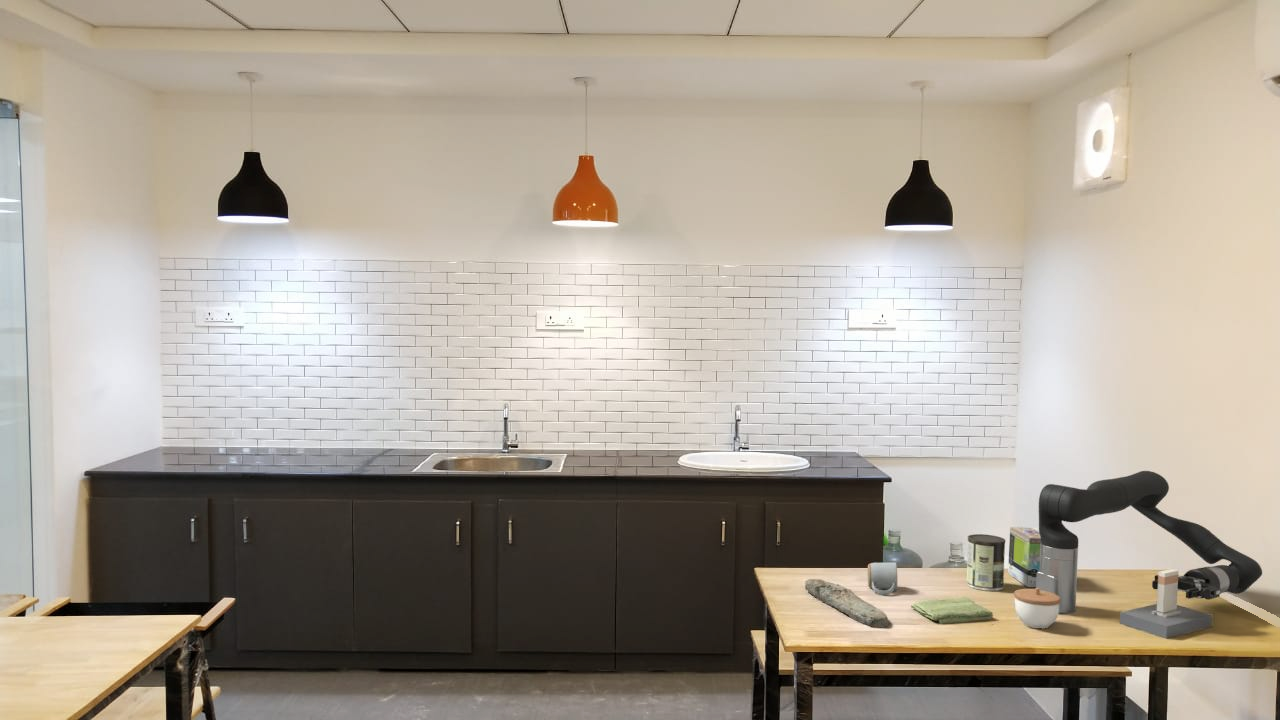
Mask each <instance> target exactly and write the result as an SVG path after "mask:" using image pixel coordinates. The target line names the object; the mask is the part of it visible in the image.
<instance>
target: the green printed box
mask: <svg viewBox="0 0 1280 720" xmlns="http://www.w3.org/2000/svg"><path fill="white" fill-rule="evenodd" d="M1040 548H1041V537H1040V534H1039V527H1022V526H1021V527H1019V526H1017V527H1016V526H1012V527H1010V529H1009V545H1008V564H1007V566H1008V567H1007V568H1008V569H1007V574H1009V575H1010V576H1011V577H1013V578H1014V579H1016V580H1017V581H1019V582H1020V583H1022V585H1024V586H1026V587H1027V588H1035V587H1036V577H1037V572H1039V571H1040Z"/></svg>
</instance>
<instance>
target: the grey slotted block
mask: <svg viewBox="0 0 1280 720" xmlns="http://www.w3.org/2000/svg"><path fill="white" fill-rule="evenodd" d="M1156 614H1157V603H1155V604H1151V605H1147V606H1142V607H1138V608H1137V607H1136V608H1133V609H1129V610H1124V611H1120V613H1119V615H1120V617H1119V624H1120V625H1122V624H1124V625H1123V626H1125V625H1127V626H1126V627H1129V626H1130V628H1131V629H1135V628H1136V629H1135V630H1139V631H1142V632H1145V633H1148V634H1151V635H1154V636H1158V637H1161V638H1163V639H1169V638H1173V637H1176V636H1177V637H1178V636H1181V635H1185V634H1189V633H1193V632H1195V631H1199V630H1203V629H1208V628H1211V627H1213V614H1211V613H1208V612H1204V611H1200V610H1196V609H1194V608H1190V607H1186V606H1183V605H1179V604H1177V611H1176V612H1173V613H1169V614H1165V615H1163V617H1162V616H1159V615H1156Z"/></svg>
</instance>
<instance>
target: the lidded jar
mask: <svg viewBox="0 0 1280 720" xmlns="http://www.w3.org/2000/svg"><path fill="white" fill-rule="evenodd" d="M1013 595H1014V608H1015V610H1014V611H1015V613H1016V615H1017V617H1018V619H1020V621H1021V622H1022V624H1023V623H1024V624H1025V625H1024V624H1023V625H1024V626H1026V625H1027V626H1026V627H1028V626H1030V627H1029V628H1031V627H1033V628H1032V629H1037V628H1042V629H1041V630H1043V629H1044V630H1045V628H1046V629H1048V627H1049V628H1050V626H1052V625H1053V624H1054V623H1055V622H1056V621H1057V618H1058V616H1059V614H1060V613H1059V605H1060V597H1059V596H1058V595H1056V594H1054V593H1051V592H1048V591H1044V590H1040V589H1039V588H1035V587H1034V588H1021V589H1017V590H1015V591H1014V593H1013Z"/></svg>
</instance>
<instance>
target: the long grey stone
mask: <svg viewBox="0 0 1280 720" xmlns="http://www.w3.org/2000/svg"><path fill="white" fill-rule="evenodd" d="M804 582H805V583H804V589H805V590H806V591H808V592H809V593H810V594H811V596H814V598H816V601H820V602H822V603H825V604H826V605H828V606H830V607H834V608H835V609H837V610H838V611H839V612H841V613H844V614H845V615H847V616H849V617H850V618H852V619H854V620H855V621H857V622H858V623H862V624H863V625H867V626H869V627H873V628H885V627H887V626H888V625H889V619H888V616H887V614H886V613H885V612H884V611H883V610H881V609H879V608H877V607H876V606H874V605H873V604H871V603H869V602H867V601H865V600H863V599H861V597H859V596H858V595H856V594H855V592H853V591H852V590H851V589H849V588H847V587H844V586H841V585H839V583H837V584H836V583H833V582H830V581H827V580H826V581H825V580H824V579H819V578H818V579H817V578H808V579H807V580H806V581H804Z"/></svg>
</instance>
